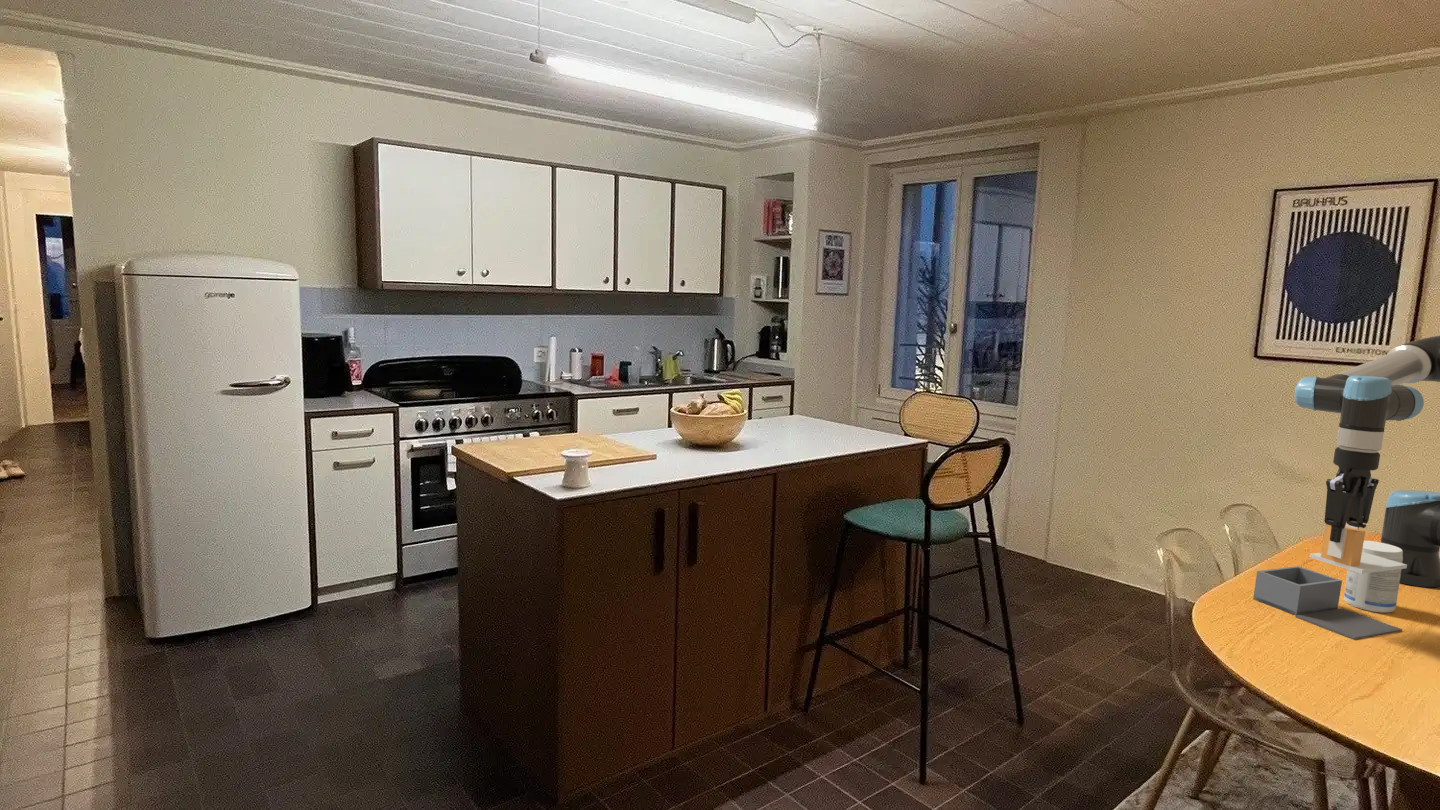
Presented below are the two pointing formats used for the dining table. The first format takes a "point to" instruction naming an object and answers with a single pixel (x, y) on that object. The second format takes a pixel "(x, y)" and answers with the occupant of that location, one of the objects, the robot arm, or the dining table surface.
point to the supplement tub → (1375, 581)
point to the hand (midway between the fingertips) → (1340, 555)
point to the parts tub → (1297, 590)
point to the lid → (1355, 554)
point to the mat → (1348, 623)
